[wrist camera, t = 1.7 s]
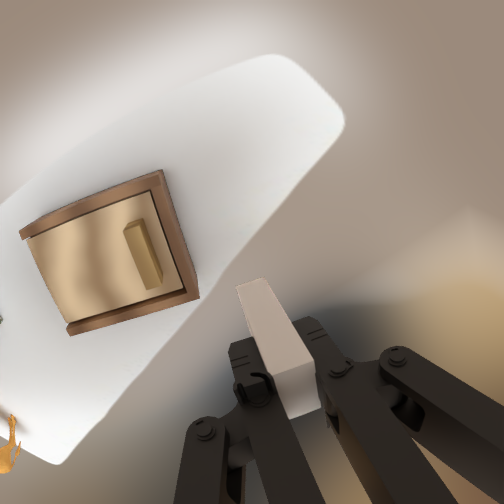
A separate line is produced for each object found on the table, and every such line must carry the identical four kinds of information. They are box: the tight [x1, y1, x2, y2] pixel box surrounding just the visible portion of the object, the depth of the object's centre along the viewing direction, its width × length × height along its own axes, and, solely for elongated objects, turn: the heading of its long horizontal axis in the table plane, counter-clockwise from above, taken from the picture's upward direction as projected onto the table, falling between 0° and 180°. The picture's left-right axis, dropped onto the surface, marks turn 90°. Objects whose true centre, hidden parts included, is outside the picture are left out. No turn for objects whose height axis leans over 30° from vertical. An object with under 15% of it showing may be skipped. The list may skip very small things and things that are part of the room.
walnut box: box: [19, 170, 200, 336], centre depth 30 cm, size 16×13×6 cm
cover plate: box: [26, 190, 183, 323], centre depth 27 cm, size 15×10×4 cm
